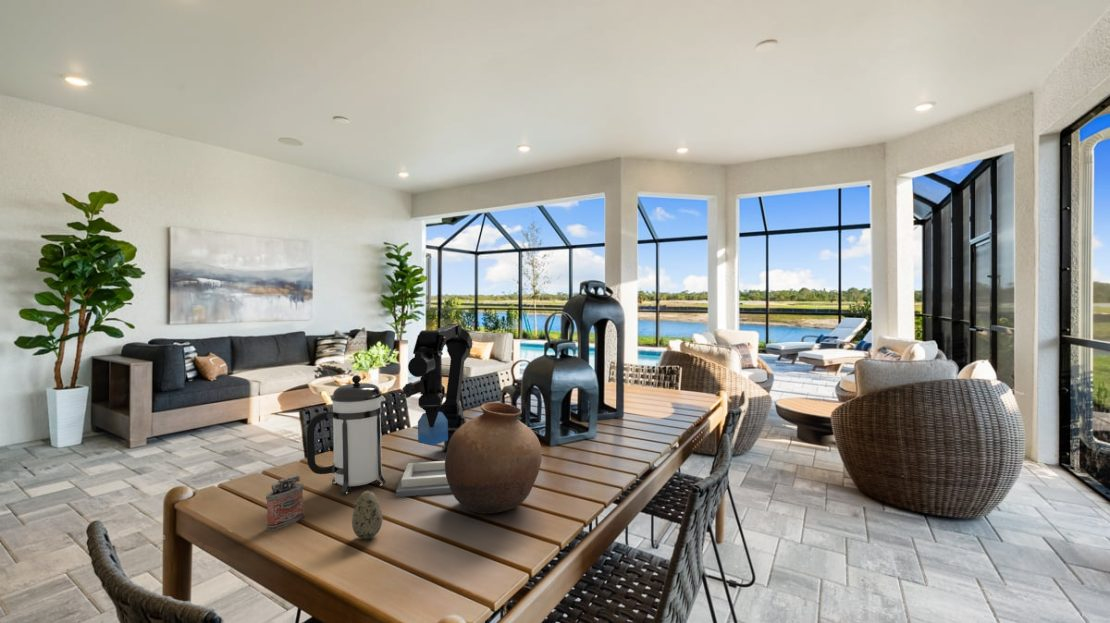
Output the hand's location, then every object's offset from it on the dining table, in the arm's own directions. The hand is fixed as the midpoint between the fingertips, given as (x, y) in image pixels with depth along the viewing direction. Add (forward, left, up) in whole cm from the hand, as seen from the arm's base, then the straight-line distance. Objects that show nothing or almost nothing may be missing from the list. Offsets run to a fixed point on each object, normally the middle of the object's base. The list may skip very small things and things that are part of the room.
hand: (432, 423), depth 146 cm
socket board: (+13, 0, -13) cm, 18 cm away
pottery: (+33, +17, -13) cm, 40 cm away
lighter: (+32, -30, -13) cm, 46 cm away
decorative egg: (+43, -10, -13) cm, 46 cm away
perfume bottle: (0, 0, -6) cm, 6 cm away
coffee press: (+12, -20, -13) cm, 27 cm away
